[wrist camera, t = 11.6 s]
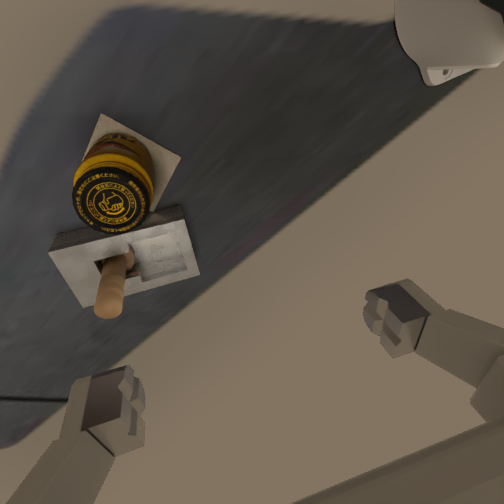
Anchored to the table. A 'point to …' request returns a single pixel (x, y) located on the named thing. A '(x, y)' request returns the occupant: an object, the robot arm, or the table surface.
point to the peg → (112, 284)
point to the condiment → (120, 178)
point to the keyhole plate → (144, 248)
